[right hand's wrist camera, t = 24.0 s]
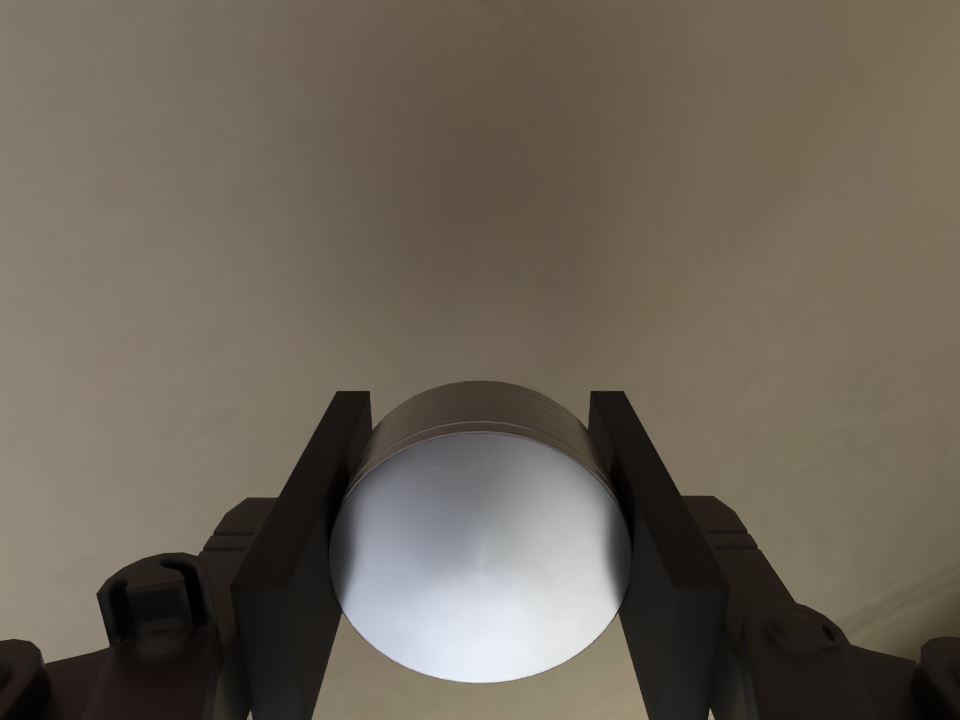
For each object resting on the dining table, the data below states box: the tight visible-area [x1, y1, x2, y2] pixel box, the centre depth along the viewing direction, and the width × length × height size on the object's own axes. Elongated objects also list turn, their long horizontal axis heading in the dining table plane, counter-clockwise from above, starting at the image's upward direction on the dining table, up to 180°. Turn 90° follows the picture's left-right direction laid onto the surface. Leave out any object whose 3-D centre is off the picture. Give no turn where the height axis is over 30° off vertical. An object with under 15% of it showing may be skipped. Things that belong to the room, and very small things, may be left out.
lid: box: [328, 381, 633, 684], centre depth 11 cm, size 5×5×2 cm
